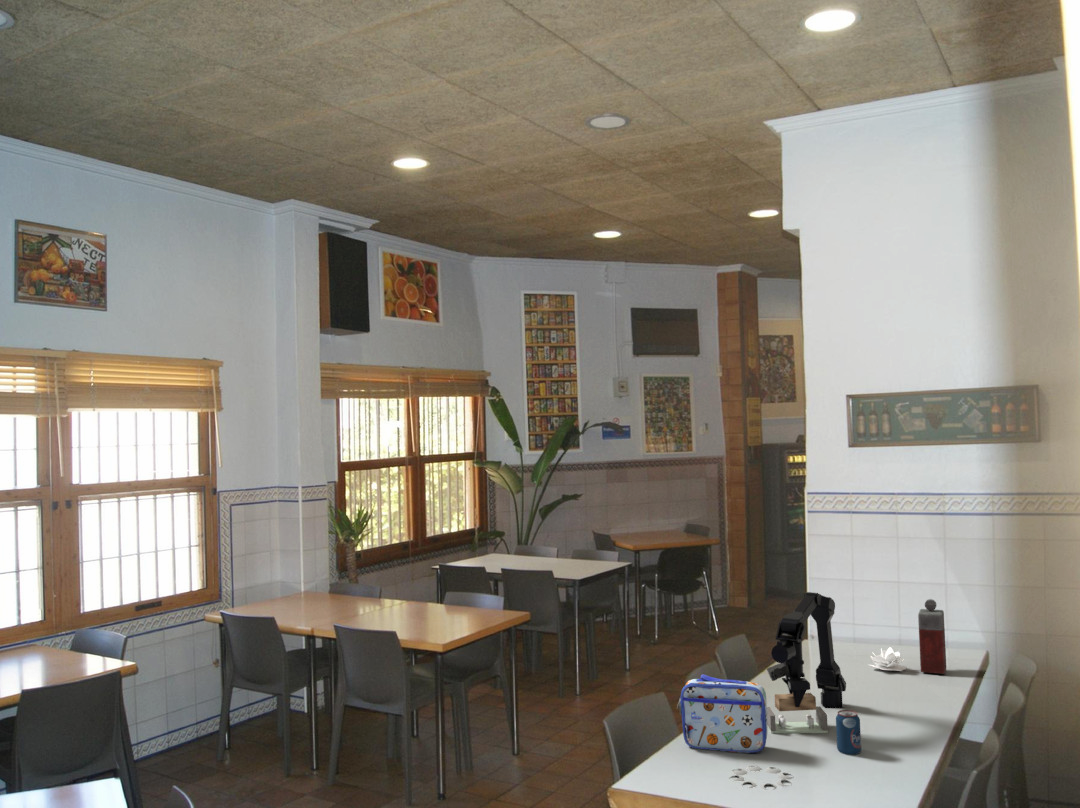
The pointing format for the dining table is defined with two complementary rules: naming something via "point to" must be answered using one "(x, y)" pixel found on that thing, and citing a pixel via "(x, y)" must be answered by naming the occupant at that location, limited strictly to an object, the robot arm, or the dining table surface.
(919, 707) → the dining table surface
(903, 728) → the dining table surface
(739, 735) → the lunch box
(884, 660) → the lotus flower
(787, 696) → the shelf block
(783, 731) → the peg cradle
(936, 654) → the red decanter bottle
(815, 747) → the dining table surface
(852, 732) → the soda can
